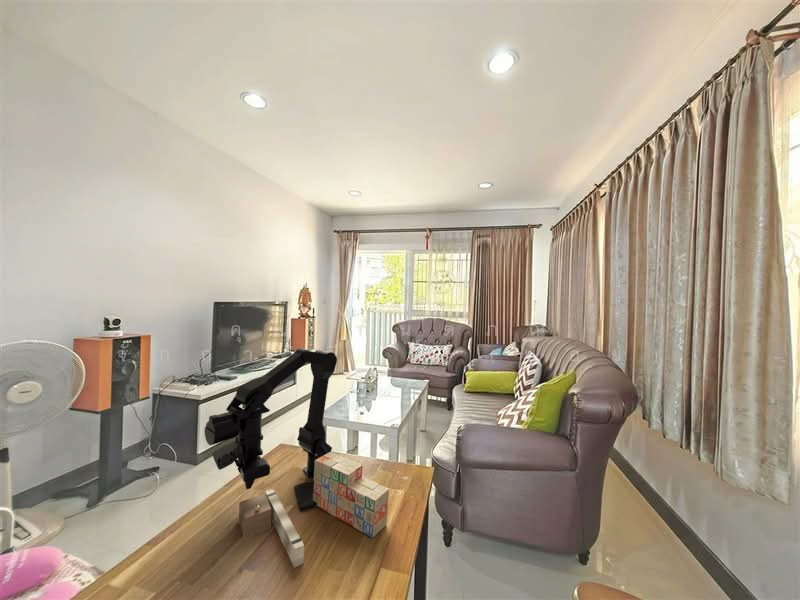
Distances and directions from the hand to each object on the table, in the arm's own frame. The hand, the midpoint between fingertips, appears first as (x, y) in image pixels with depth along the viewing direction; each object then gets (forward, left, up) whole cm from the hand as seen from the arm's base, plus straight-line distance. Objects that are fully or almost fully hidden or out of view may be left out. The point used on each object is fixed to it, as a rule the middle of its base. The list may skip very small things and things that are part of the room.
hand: (248, 488), depth 86 cm
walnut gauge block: (+8, 0, -5) cm, 9 cm away
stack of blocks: (+18, +21, -5) cm, 28 cm away
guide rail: (+14, +5, -5) cm, 16 cm away
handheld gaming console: (+5, +16, -5) cm, 18 cm away
